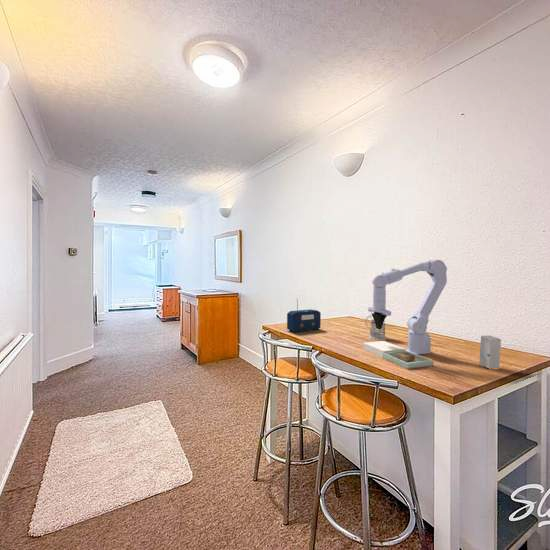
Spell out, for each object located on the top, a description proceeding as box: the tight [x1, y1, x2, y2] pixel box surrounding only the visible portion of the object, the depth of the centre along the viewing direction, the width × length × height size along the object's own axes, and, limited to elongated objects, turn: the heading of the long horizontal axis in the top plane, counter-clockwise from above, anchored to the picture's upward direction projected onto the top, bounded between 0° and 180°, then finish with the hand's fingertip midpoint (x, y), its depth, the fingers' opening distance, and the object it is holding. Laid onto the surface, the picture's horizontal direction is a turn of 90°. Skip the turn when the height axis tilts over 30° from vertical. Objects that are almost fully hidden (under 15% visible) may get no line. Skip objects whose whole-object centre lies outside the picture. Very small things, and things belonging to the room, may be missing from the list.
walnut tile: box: [397, 353, 415, 363], centre depth 127 cm, size 5×5×2 cm
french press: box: [365, 312, 388, 341], centre depth 170 cm, size 10×12×25 cm
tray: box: [381, 351, 434, 370], centre depth 127 cm, size 13×15×2 cm
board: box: [362, 340, 406, 358], centre depth 141 cm, size 12×15×3 cm
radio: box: [286, 298, 322, 333], centre depth 189 cm, size 21×9×20 cm, turn 119°
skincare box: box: [478, 335, 502, 369], centre depth 120 cm, size 6×4×12 cm
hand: (378, 328), depth 144 cm, fingers closed
